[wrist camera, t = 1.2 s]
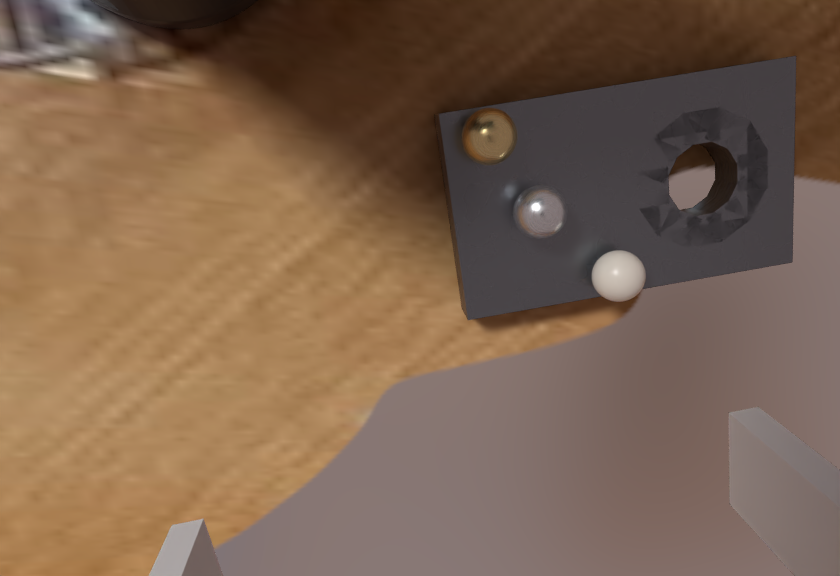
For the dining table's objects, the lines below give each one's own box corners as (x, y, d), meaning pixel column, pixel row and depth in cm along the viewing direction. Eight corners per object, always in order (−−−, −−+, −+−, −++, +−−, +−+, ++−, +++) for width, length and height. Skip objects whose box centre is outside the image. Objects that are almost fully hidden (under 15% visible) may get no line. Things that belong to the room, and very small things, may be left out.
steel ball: (504, 187, 37) (517, 192, 34) (555, 178, 37) (572, 183, 34) (510, 237, 37) (523, 247, 34) (560, 229, 38) (577, 238, 35)
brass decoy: (454, 113, 35) (462, 112, 32) (506, 104, 35) (520, 102, 32) (461, 167, 36) (470, 171, 33) (513, 158, 36) (526, 162, 33)
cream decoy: (582, 250, 38) (601, 261, 35) (630, 241, 38) (654, 252, 35) (586, 297, 39) (605, 312, 36) (633, 289, 39) (656, 303, 36)
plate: (461, 308, 41) (467, 320, 39) (434, 114, 38) (438, 113, 35) (768, 254, 42) (792, 262, 40) (769, 60, 38) (796, 55, 36)
